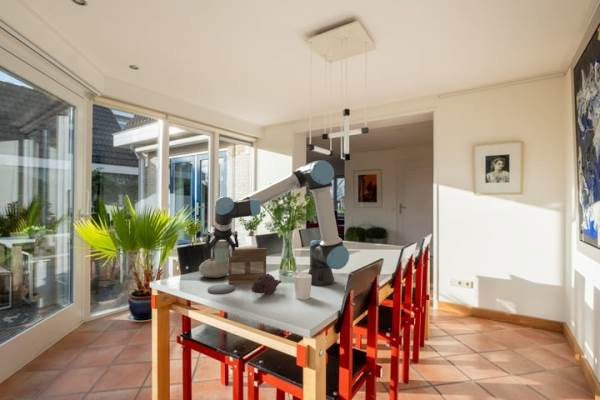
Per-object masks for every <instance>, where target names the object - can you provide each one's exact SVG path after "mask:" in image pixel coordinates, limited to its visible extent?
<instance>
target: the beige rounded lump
mask: <svg viewBox="0 0 600 400" xmlns="http://www.w3.org/2000/svg"><path fill="white" fill-rule="evenodd" d="M198 272H199V274H200V275H202V276H203V277H204V278H213V279H217V278H223V277H225V276H227V275H229V262H228V264H227V265H224V266H217V265H216V264H215V258H214V257H213V258H208V259H206V260H204V261H203V262H201V263H200V265H199V266H198Z"/></svg>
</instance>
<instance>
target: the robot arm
mask: <svg viewBox="0 0 600 400" xmlns="http://www.w3.org/2000/svg"><path fill="white" fill-rule="evenodd" d="M334 178H335V170H334V167H333V166H332V164H331V163H330V162H328V161H326V160H315V161H311V162H308V163H306V164H303V165H302V166H300V167H298V168H297V169H295V170H294V171H291V172H289V174H288V176H285V177H283V178H281V179H279V180H277V181H275V182H272V183H271V184H269V185H267V186H264V187H263V188H260V189H258V190H256V191H254V192H252V193H250V194H248V195H246V196H244V197H242V198H240V199H235V200H234V199H233V198H232V197H229V196H228V197H227V196H220V197H219V198H217V199H216V201H215V207H214V231H213V232H210V231H208V232H207V237H206V240H205V243H204V249H205V250H207V249H208V253H210V259H212V258H213V259H214V256H213V255H214V245H215V244H216V243H217V242H218V241H219V240H226V241H227V242H228V243H229V244H230V257H232V252H234V250H235V249H239V247H240V246H239V244H240V243H239V239H238V234H239V233H238V231H237V230H236V231H232V225H233V219H238V218H246V217H254V216H259V215H260V213H261V209H262V207H261V206H264V205H266V204H267V203H269V202H272V201H273V200H275V199H277V198H280V197H281V196H283V195H286V194H287V193H289V192H292V191H294V190H299V189H302V188H305V187H308V189H309V192H311V193H312V195H313V200H314V205H315V210H316V216H317V221H318V227H319V231H320V237H321V239H315V240H311V241H310V244H309V268H308V269H309V270H308V273H307V274H310V275H312V281H311V286H312V285H313V286H317V287H318V286H320V287H321V286H331V285H332V286H333V285H334V284H335V276H334V273H333V271H332V270H341V269H343V268H344V267H346V265H347V264H348V263H349V259H350V252H349V250H348V249H347V247H346V246H344V242H343V239H342V238H341V237H339V231H338V226H337V220H336V215H335V210H334V206H333V205H334V204H333V199H332V194H331V189H332V188H333V182H332V181H333V179H334ZM231 236H232V237H233V238H234V240H233V239H232V237H231ZM212 237H214V238H213V239H212Z"/></svg>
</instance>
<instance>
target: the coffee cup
mask: <svg viewBox="0 0 600 400" xmlns="http://www.w3.org/2000/svg"><path fill="white" fill-rule="evenodd" d="M230 246H231V245H230V244H229V243H228V242H227V241H226V240H219V241H218V242H217V243H216V244H215V245H214V246H213V255H214V259H215V264H216V265H217V266H224V265H227V264H228V263H229V249H230Z"/></svg>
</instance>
